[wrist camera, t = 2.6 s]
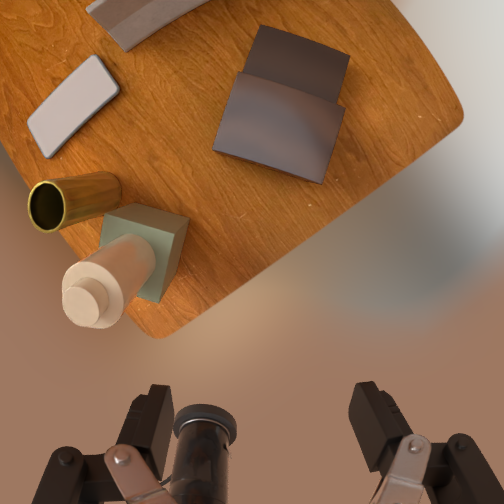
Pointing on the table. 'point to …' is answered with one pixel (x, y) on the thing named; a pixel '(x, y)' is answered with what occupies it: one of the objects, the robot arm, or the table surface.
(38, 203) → the vase
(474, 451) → the robot arm
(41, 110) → the smartphone
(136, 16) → the barrier
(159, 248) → the cube
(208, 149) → the table surface
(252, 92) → the brown box
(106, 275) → the cream stepped cylinder
